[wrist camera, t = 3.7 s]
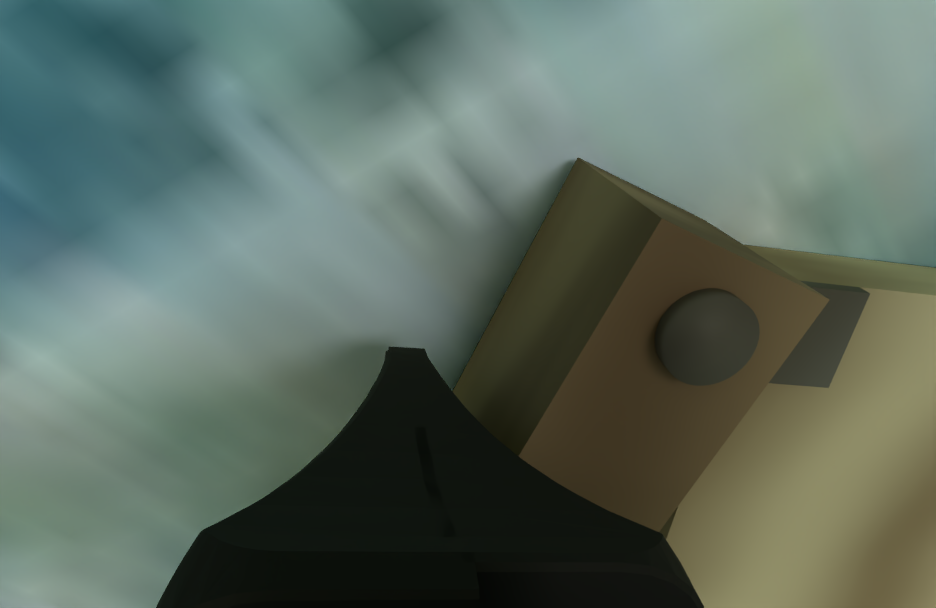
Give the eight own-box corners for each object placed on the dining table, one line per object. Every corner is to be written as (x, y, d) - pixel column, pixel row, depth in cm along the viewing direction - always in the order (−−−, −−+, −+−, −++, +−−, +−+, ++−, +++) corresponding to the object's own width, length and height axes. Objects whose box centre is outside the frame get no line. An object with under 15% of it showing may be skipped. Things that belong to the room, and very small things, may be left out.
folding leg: (703, 219, 13) (843, 308, 9) (484, 568, 16) (516, 745, 12) (577, 157, 12) (671, 225, 8) (373, 539, 15) (369, 719, 11)
